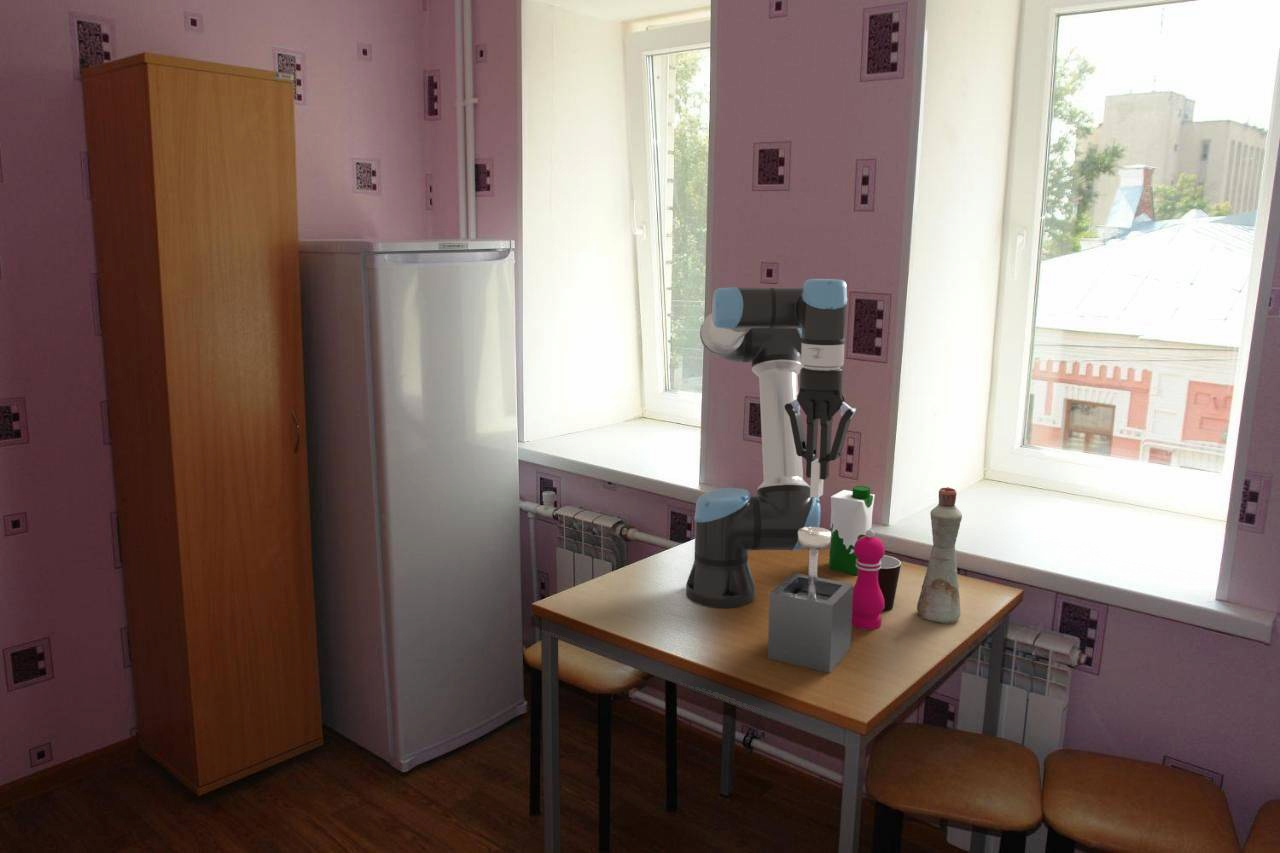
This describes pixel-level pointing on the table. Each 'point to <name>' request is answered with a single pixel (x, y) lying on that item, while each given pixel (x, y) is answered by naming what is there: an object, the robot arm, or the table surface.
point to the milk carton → (849, 526)
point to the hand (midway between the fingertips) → (816, 495)
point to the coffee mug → (889, 580)
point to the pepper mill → (868, 583)
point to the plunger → (813, 555)
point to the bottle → (942, 563)
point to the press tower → (810, 623)
